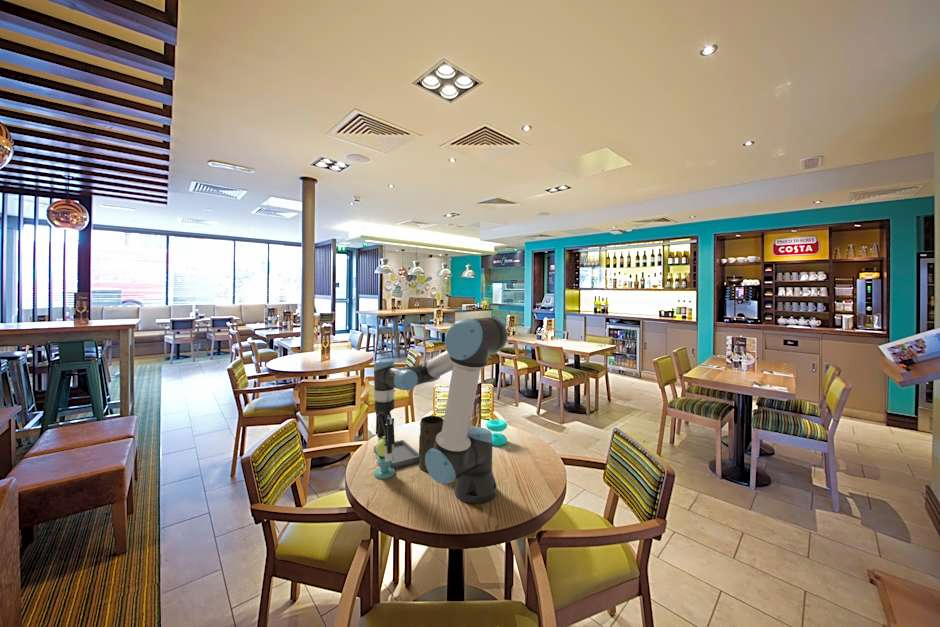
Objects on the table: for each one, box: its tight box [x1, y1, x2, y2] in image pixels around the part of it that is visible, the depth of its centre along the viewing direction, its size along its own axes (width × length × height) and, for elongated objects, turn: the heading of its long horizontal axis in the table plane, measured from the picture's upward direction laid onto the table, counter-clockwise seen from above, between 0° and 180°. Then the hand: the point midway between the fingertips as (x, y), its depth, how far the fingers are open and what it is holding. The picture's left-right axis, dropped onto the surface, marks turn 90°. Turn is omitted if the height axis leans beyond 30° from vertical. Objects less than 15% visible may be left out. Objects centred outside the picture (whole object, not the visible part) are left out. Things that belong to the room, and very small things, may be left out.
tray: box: [373, 439, 420, 470], centre depth 160 cm, size 20×14×2 cm
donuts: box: [485, 418, 508, 447], centre depth 175 cm, size 10×10×10 cm
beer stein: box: [418, 415, 444, 473], centre depth 150 cm, size 15×11×20 cm
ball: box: [375, 438, 394, 457], centre depth 144 cm, size 7×7×7 cm
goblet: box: [373, 455, 396, 480], centre depth 144 cm, size 8×8×7 cm
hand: (385, 457), depth 144 cm, fingers closed on ball, 7 cm apart
